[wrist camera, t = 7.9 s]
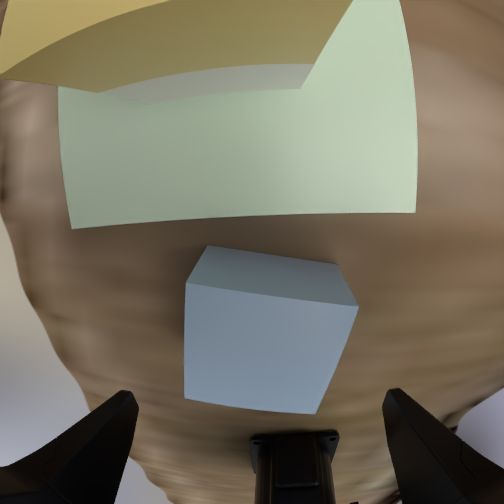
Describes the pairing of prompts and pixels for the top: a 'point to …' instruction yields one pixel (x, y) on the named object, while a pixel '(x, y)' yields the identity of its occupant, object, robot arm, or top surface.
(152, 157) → the plate
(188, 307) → the blue brick
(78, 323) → the top surface
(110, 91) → the white brick
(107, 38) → the mustard brick
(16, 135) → the top surface
